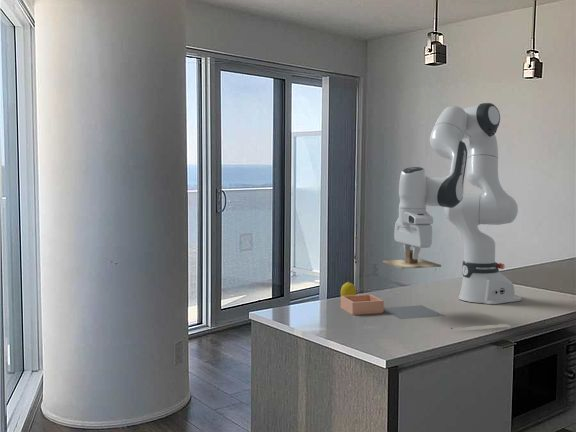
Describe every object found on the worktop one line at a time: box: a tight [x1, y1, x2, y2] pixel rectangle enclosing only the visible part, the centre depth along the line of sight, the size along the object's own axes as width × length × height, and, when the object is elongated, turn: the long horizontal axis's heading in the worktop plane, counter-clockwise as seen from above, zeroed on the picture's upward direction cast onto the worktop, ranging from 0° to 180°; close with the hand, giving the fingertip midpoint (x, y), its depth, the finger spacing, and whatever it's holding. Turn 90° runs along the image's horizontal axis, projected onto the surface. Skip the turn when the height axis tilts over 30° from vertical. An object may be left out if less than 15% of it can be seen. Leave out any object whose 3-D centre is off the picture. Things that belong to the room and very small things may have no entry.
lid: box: [382, 249, 442, 270], centre depth 207 cm, size 14×14×5 cm
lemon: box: [340, 281, 357, 297], centre depth 226 cm, size 6×6×8 cm
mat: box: [383, 304, 446, 320], centre depth 209 cm, size 16×16×1 cm
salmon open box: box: [340, 293, 385, 316], centre depth 211 cm, size 11×11×5 cm
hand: (411, 258), depth 207 cm, fingers closed on lid, 3 cm apart
